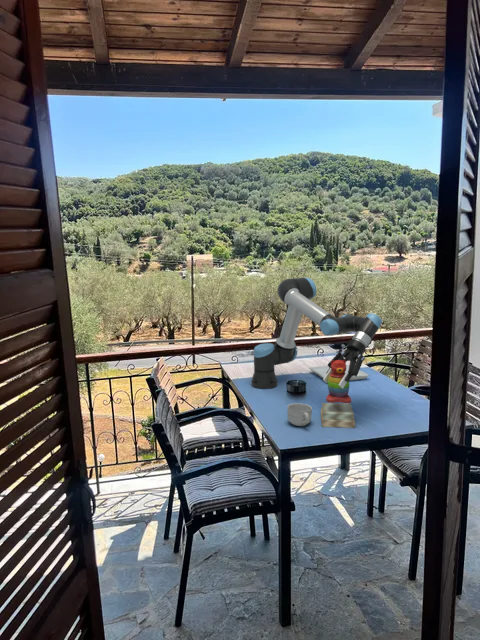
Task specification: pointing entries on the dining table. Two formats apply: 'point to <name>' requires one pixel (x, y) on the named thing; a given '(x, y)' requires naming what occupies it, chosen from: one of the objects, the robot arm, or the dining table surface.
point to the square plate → (361, 375)
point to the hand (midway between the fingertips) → (332, 384)
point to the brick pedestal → (337, 415)
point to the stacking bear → (337, 383)
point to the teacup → (299, 414)
